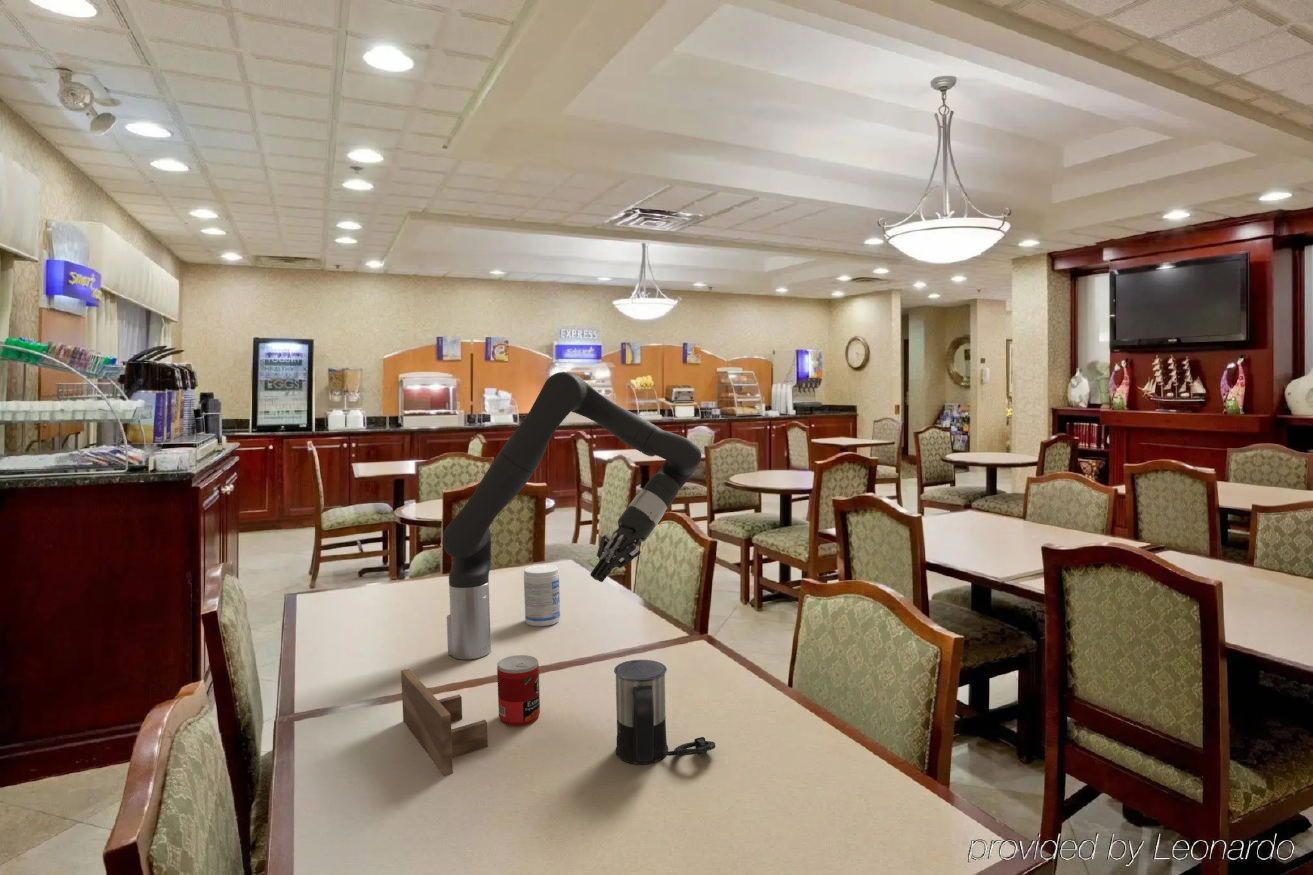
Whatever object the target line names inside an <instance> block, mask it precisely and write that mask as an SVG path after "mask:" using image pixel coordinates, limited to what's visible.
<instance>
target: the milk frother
mask: <svg viewBox="0 0 1313 875" xmlns="http://www.w3.org/2000/svg"><path fill="white" fill-rule="evenodd" d="M667 669H668V668H667V667H666V665H665V664H664V663H661V662H660V661H656V660H651V659H632V660H627V661H624V662H620V663H618V664H617V665H616V666H615V667H614V669H613V672H614V674H615V701H616V705H615V706H616V732H617V733H616V747H615V754H616V756H617V757H618V758H619V759H620V760H622V761H623V762H626V763H629V764H630V763H631V764H636V765H640V764H642V765H643V764H644V765H646V764H651V763H655V762H658V761H660V760H663V759H664V758H665V757H666V756H669V757H670V756H673V757H674V756H675V757H676V756H690V755H697V754H698V755H702V754H705V753H707V752H708V751H712V750H714V749H715V748H716V747H717V746H716V743H715V742H714V741H709V740H706V737H704V736H700V737H696V738H694V740H693V741H692V742H686V743H683V744H679V745H678V746H676V747H675V748H674V750H671V751H670V750H669V746H668V744H667V740H668V739H667V726H666V724H667V723H666V718H667V717H666V673H667Z"/></svg>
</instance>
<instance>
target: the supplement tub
mask: <svg viewBox="0 0 1313 875" xmlns="http://www.w3.org/2000/svg"><path fill="white" fill-rule="evenodd" d="M523 588H524V589H523V590H524V594H523V596H524V618H525V622H526V624H527V625H528V626H529V625H530V626H532V627H546V626H551V625H552V626H553V625H554V624H557V623H558V622H559V621H560V620H561V599H560V598H561V597H560V596H561V592H560V591H561V590H560V572H559V568H558V567H557V566H555V565H552V564H551V565H549V564H540V565H533V566H529V567H526V568H524V571H523Z"/></svg>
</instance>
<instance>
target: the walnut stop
mask: <svg viewBox="0 0 1313 875" xmlns="http://www.w3.org/2000/svg"><path fill="white" fill-rule="evenodd" d="M400 674H401V675H400V676H401V677H400V678H401V700H402V702H401V703H402V722H403V724H404V725H405V726H406V728H408V730H409V731H410V732H411V734H412V735H413V736H414V737H415V739H416V741H417V742H418V743H419V744H420V746H421V747H422V749H423V750H424V751H425V752H426V755H428V757H429V758H430V759H431V761H432V763H434V765H435V766H436V768H437V769H438V770H439V771H440V773H441V774H442V775H443V776H448V775H451V774H453V773H454V769H453V768H454V767H453V766H454V765H453V759H454V758H458V757H460V756H463V755H467V754H470V753H473V752H476V751H479V750H482V749H486V748H489V738H488V734H489V733H488V721H487V720H486V719H482V720H479V721H476V722H472V723H468V724H465V725H462V726H458V727H455V728H452V723H454V722H458V721H461V720H463V706H462V705H463V703H462V702H463V701H462V696H461V694H456V695H452V696H448V697H444V698H440V699H437V697H436V696H435V695H434V694H433V693H432V692H431V691H430V689H428V687H426V685H424V684H425V683H423V682H422V681H421V680H420V679H419V678H418V677H417V676H416V675H415V674H414V672H412V670H411V669H410V668H407V669H401V670H400Z"/></svg>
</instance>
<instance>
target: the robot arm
mask: <svg viewBox="0 0 1313 875" xmlns="http://www.w3.org/2000/svg"><path fill="white" fill-rule="evenodd" d="M570 413H574V414H577V415H579V416H582V417H585V419H586V418H587V419H589V420H591V421H593V422H595V423H596V424H597V425H599V426H601V427H603V428H604V429H605V430H607V431H608V432H609V433H611V434H612V435H613V436H614V437H616V438H617V439H619V440H620V441H621V442H623V443H624V444H626V445H628V446H629V447H630V448H633V449H635V450H636V451H639V453H642V454H643V455H645V456H648V457H655V456H656V457H659V458H661V459H663V460H665V461H664V462H663V464H662V465H661V466H660V468H659V470H658V471H657V473H654V474H653V475H652V476H651V477H650V479H649V480H648V481H647V483H646V484H645V485H644V487H643V488H642V489H641V490H640V492H638V494H637V495H636V496H635V497H634V498H633V499H632V501H631V502H630V503H629V505H628V506H627V507H626V509H625V510H624V512H623V513H622V514H621V515H620V517H619V518H618V519H617V525H618V528H617V529H616V530H615V531H614V532H613V533H612V534H611V536H607V535H603V536H601V539H600V543H599V546H598V549H597V553H596V557H597V558H598V562H597V563H596V566H594V568H593V569H592V570H591V572H590V575H589V576H590V577H591V578H592V579H594V580H595V581H598V582H600V583H603V582H604V581H605V580H606V578H607V577H608V575H610V573H611V571H612V570H615V569H616V568H617V569H622V568H623V567H624V566H625V565H627V564H628V563H630V562H631V561H633V560H634V559H635V558H637V557H638V556H639V555H640V554H641V552H642V551H641V550H640V549H639V548H638V545H639V543H640V542H642V543H643V542H646V540H647V539H648V538H649V537H650V535H651V533H652V532H653V530H654V529H655V528H656V527H657V525H658V523H659V522H660V521H661V520H662V518H663V516H664V515H665V513H666V511H667V509H669V506H670V505H671V504H672V503H673V501H674V500H675V498H676V497H677V495H678V493H679V491H680V489H682V488H683V487H684V485H685V484H686V482H688V481H689V479H690V478H691V476H692V475H693V474H694V473H695V472H696V469H697V468H698V467H699V465H700V463H701V461H702V450H701V449H700V448H699V446H698V445H697V444H696V443H695V442H693V441H692V440H690V439H689V438H687V437H685V436H682V435H679V434H676V433H673V432H671V431H667V430H663V429H662V428H660V427H659V426H657V425H655V424H653V423H652V422H649V421H648V420H646V419H645V418H643V417H641V416H639V415H637V414H635V413H634V412H631V411H630V410H628V409H625V408H624V407H622V406H621V405H618V404H617V403H615V402H613V401H612V400H610V398H609V399H608V398H607V397H605V396H604V395H603V394H601V393H600V392H599V391H597V390H596V389H595V388H594V387H592V386H591V385H590V384H589V383H588V382H586V381H585V380H584V379H583V378H582V377H581V376H579V375H578V374H576V373H574V372H570V371H569V372H568V371H559V372H555V373H554V374H552V375H550V376H549V377H548V378H547V380H545V383H544V384H543V385H542V388H541V389H540V391H539V393H538V395H537V396H536V399H535V401H534V402H533V404H532V406H531V408H530V410H529V411H528V413H527V415H526V416H525V418H524V419H523V421H522V422H521V423H520V424H519V426H517V427H516V430H514V432H513V434H511V436H510V437H509V439H508V440H507V441H506V443H505V444H504V445H503V446H502V448H501V450H499V452H498V454H497V455H496V457H495V458H494V459H493V461H492V463H491V465H490V466H489V467H488V469H487V471H486V472H485V474H484V475H483V477H482V479H481V480H480V481H479V484H478V485H477V486H476V488H475V491H474V492H473V494H472V496H471V497H470V499H468V501H467V503H465V505H464V506H463V507H462V509H460V510H459V512H458V513H457V514H456V515H455V517H454V518H453V519H452V520H451V521H450V522H449V524H448V525H446V527H445V529H444V532H443V534H442V545H443V546H442V547H443V550H444V552H445V553H446V554H447V555H448V556H450V557H452V558H453V563H452V567H451V569H450V571H449V573H448V585H449V586H448V587H449V588H448V589H449V590H448V591H449V614H447V616H446V633H447V634H446V636H447V655H448V656H452V657H453V658H454V659H457V660H474V659H475V660H476V659H479V658H483V657H486V656H487V655H489V654H490V653H491V651H492V646H491V645H492V643H491V642H492V641H491V639H492V638H491V615H490V614H491V612H490V611H491V610H490V586H489V585H490V582H489V576H490V570H491V565H492V535H491V530H490V526H491V525H492V523H493V522H494V520H495V518H497V516H498V515H499V514H500V512H501V511H503V509H504V508H505V507H507V505H508V504H509V503H511V501H512V500H513V499H514V498H516V496H517V495H518V494H519V493H520V491H521V490H522V489H523V488H524V487H525V486H526V484H527V483H528V482H529V480H530V478H531V477H532V476H533V475H534V473H535V471H536V470H537V468H538V467H539V465H540V463H541V461H542V459H543V457H544V454H545V453H546V449H547V447H548V445H549V442H550V440H551V438H552V436H553V434H554V433H555V432H556V430H557V429H558V427H559V426H560V425H561V424H562V423H563V421H564V420H565V419H566V418H567V416H568V415H569V414H570Z"/></svg>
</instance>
